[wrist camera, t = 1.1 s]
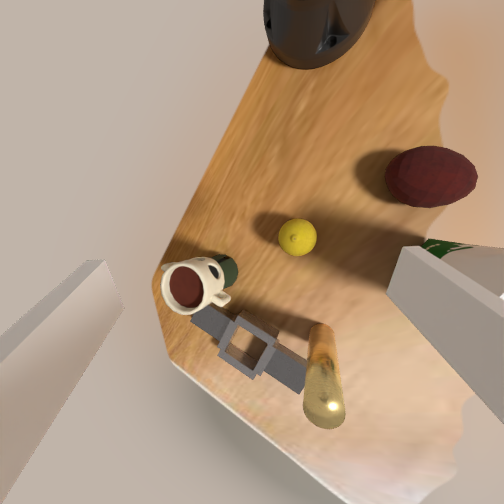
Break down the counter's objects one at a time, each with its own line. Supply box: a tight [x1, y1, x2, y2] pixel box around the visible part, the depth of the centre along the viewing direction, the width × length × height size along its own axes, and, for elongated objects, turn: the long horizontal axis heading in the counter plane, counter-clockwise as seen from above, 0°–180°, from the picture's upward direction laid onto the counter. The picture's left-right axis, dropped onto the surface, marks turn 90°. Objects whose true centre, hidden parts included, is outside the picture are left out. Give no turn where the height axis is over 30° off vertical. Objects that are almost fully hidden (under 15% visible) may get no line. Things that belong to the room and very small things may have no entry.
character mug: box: [160, 254, 238, 315], centre depth 35 cm, size 11×7×13 cm, turn 63°
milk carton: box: [421, 239, 504, 300], centre depth 22 cm, size 9×9×20 cm
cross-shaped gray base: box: [190, 302, 307, 394], centre depth 40 cm, size 9×23×3 cm, turn 63°
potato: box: [385, 146, 478, 208], centre depth 28 cm, size 7×10×6 cm
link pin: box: [303, 324, 345, 429], centre depth 30 cm, size 4×4×16 cm
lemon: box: [278, 218, 317, 256], centre depth 33 cm, size 6×6×8 cm
